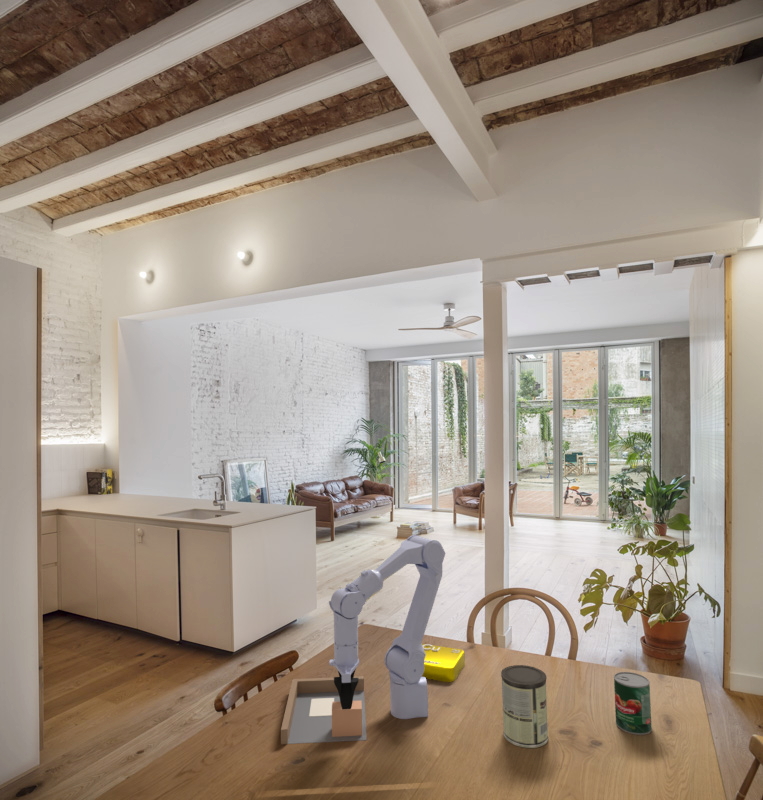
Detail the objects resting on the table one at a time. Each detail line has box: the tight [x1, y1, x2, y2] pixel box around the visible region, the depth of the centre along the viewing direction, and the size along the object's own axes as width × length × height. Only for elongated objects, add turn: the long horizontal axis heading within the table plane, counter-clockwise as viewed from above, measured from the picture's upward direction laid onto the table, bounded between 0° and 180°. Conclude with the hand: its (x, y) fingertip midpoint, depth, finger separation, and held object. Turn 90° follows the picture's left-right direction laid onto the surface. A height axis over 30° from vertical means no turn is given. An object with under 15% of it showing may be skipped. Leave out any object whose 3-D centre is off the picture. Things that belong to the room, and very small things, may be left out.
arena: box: [280, 675, 368, 745], centre depth 138 cm, size 20×26×4 cm
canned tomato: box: [613, 671, 653, 736], centre depth 132 cm, size 8×8×11 cm
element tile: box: [422, 643, 466, 683], centre depth 165 cm, size 15×15×5 cm
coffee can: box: [500, 664, 549, 749], centre depth 128 cm, size 10×10×14 cm
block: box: [332, 701, 362, 737], centre depth 130 cm, size 7×4×6 cm, turn 93°
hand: (346, 700), depth 130 cm, fingers open, 7 cm apart
